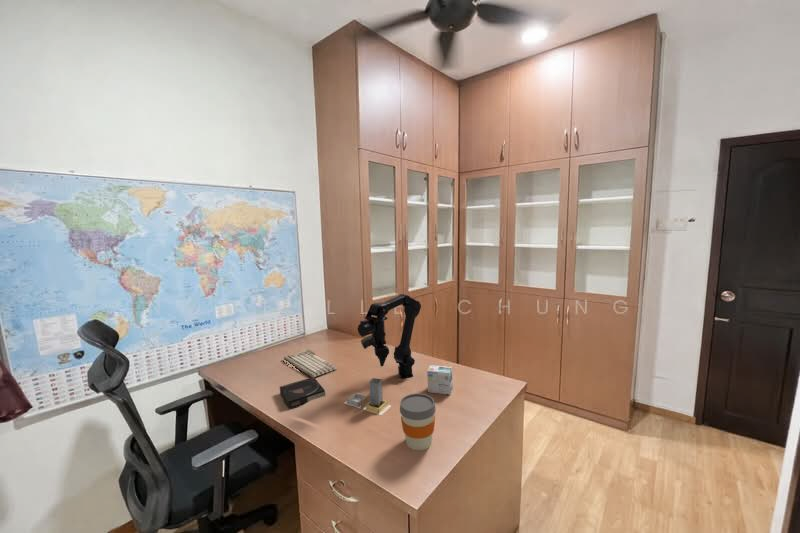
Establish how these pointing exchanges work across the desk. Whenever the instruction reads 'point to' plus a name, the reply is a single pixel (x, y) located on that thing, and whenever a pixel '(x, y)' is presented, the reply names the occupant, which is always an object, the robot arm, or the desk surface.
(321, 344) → the desk surface
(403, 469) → the desk surface
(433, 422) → the reusable coffee cup
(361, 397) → the board
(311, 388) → the portable cd player
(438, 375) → the light bulb box
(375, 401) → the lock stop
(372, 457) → the desk surface
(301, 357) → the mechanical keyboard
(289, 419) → the desk surface
